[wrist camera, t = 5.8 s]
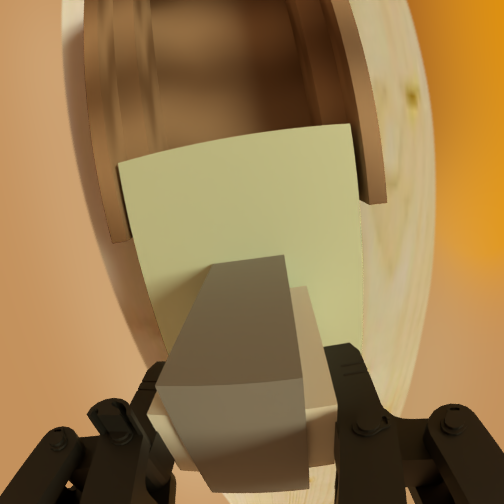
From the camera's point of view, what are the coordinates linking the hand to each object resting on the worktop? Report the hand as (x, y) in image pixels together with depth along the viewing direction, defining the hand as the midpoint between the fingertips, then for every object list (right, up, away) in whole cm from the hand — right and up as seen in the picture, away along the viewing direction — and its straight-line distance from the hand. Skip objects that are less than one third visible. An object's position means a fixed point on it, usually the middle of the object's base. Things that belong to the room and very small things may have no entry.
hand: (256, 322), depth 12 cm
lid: (0, +1, +2) cm, 2 cm away
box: (-2, +13, +3) cm, 14 cm away
